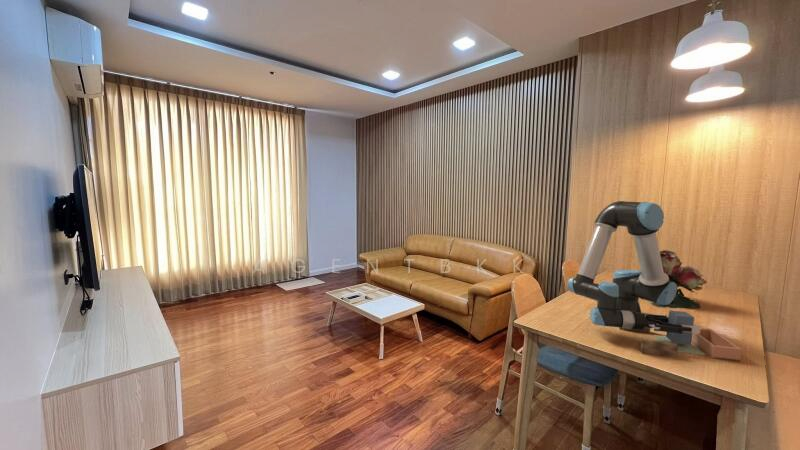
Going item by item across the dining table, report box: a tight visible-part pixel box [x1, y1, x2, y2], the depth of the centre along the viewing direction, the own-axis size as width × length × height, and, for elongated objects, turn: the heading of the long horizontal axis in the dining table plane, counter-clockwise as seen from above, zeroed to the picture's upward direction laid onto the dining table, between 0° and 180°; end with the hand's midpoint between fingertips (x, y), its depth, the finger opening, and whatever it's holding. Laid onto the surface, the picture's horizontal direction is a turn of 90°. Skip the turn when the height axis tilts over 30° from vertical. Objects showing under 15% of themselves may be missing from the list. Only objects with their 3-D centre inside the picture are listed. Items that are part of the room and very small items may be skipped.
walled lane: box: [618, 327, 679, 358], centre depth 141 cm, size 12×24×5 cm, turn 165°
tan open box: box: [691, 327, 742, 362], centre depth 135 cm, size 9×18×5 cm, turn 165°
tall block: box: [665, 310, 695, 345], centre depth 137 cm, size 6×6×12 cm
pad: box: [653, 334, 707, 356], centre depth 138 cm, size 12×14×1 cm
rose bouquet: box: [648, 249, 708, 309], centre depth 190 cm, size 26×29×30 cm
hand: (694, 326), depth 136 cm, fingers closed on tall block, 6 cm apart
